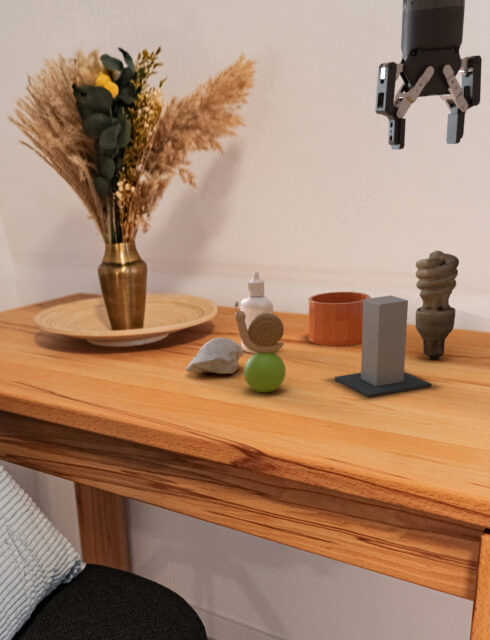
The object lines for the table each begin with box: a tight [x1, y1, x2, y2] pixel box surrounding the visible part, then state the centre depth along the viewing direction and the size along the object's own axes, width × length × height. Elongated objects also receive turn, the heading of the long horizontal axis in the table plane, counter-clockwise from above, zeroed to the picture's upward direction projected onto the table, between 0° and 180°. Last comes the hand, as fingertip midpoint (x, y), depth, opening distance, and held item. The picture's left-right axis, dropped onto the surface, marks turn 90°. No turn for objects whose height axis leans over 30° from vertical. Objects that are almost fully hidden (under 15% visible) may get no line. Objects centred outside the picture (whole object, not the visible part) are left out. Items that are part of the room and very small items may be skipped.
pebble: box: [185, 336, 244, 375], centre depth 121 cm, size 9×8×5 cm
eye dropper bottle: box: [239, 271, 274, 354], centre depth 128 cm, size 4×6×12 cm
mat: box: [334, 371, 432, 399], centre depth 111 cm, size 9×9×1 cm
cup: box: [307, 291, 372, 346], centre depth 133 cm, size 9×9×6 cm
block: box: [360, 295, 409, 386], centre depth 108 cm, size 4×4×10 cm
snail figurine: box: [234, 301, 287, 394], centre depth 109 cm, size 5×6×12 cm
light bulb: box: [415, 250, 460, 361], centre depth 116 cm, size 6×6×15 cm
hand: (425, 146), depth 113 cm, fingers open, 8 cm apart
